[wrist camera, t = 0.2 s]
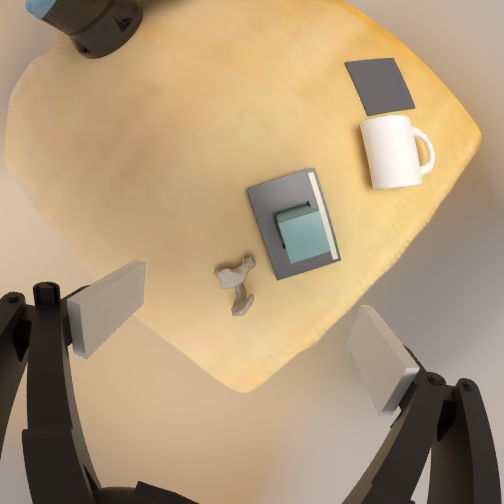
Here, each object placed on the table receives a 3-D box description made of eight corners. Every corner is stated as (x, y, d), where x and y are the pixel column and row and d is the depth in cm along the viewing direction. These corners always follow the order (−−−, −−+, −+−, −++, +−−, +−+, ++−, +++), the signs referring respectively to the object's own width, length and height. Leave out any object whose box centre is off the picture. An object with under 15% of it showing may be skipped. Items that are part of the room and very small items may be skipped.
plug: (275, 213, 40) (278, 223, 28) (304, 203, 40) (319, 210, 28) (284, 241, 41) (290, 263, 29) (313, 232, 41) (330, 251, 29)
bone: (215, 240, 41) (242, 271, 33) (252, 245, 44) (284, 275, 36) (202, 289, 43) (224, 328, 35) (237, 291, 46) (264, 326, 38)
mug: (365, 188, 39) (386, 189, 31) (352, 127, 37) (370, 115, 29) (425, 180, 38) (451, 181, 30) (414, 124, 36) (438, 115, 28)
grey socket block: (247, 188, 40) (246, 188, 37) (311, 169, 39) (314, 167, 36) (276, 274, 43) (277, 280, 40) (336, 255, 42) (341, 260, 38)
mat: (344, 63, 34) (345, 62, 34) (392, 58, 33) (393, 57, 32) (367, 116, 36) (368, 115, 36) (414, 108, 35) (415, 107, 34)
